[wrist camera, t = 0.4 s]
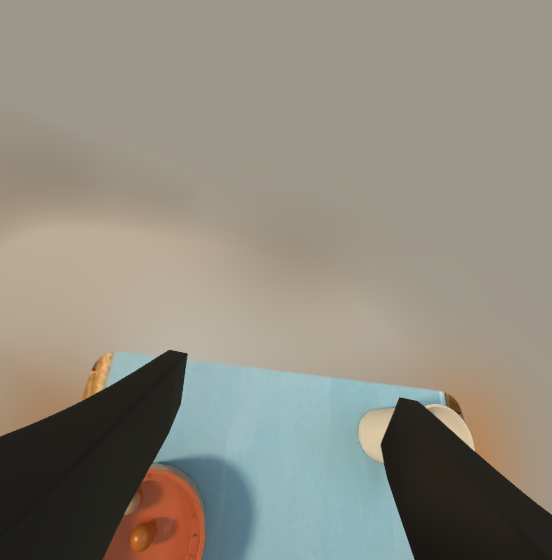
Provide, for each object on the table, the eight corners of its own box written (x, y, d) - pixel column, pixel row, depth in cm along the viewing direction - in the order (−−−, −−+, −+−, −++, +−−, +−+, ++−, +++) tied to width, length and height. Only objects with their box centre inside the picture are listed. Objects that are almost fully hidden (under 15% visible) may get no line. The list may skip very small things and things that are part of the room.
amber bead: (152, 547, 29) (148, 557, 27) (129, 545, 29) (123, 554, 27) (159, 520, 30) (155, 527, 28) (137, 517, 30) (132, 525, 28)
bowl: (187, 617, 28) (184, 646, 25) (56, 605, 27) (33, 634, 23) (217, 471, 34) (218, 477, 30) (108, 455, 32) (96, 460, 29)
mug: (352, 407, 40) (405, 404, 29) (397, 406, 41) (463, 403, 30) (363, 497, 35) (429, 532, 25) (412, 493, 37) (495, 525, 26)
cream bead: (137, 512, 30) (133, 519, 28) (115, 510, 30) (109, 516, 28) (145, 487, 31) (141, 492, 29) (124, 484, 31) (118, 489, 29)
